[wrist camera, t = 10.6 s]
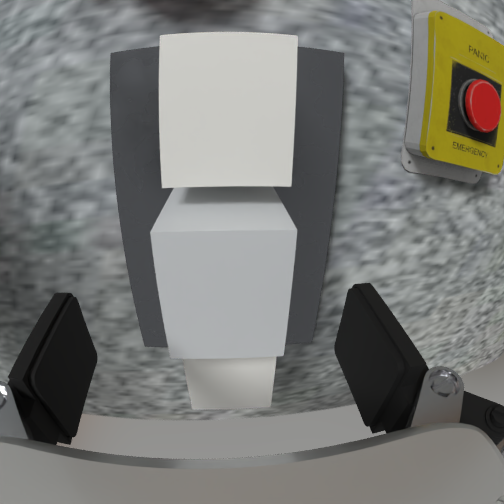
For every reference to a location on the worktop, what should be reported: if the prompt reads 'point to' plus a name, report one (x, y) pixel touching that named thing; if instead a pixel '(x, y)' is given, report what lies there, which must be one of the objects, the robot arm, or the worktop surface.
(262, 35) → the mounted modules
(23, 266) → the worktop surface
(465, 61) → the emergency button
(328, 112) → the board
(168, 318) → the block
